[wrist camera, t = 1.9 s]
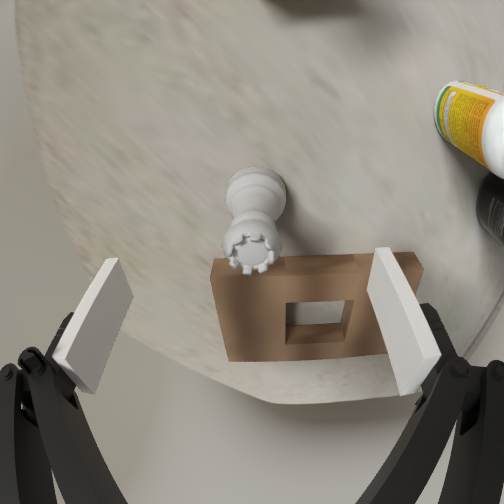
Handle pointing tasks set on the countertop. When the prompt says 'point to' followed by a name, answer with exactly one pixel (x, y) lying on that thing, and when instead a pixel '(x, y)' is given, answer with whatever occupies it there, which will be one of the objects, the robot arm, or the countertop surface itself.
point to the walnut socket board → (301, 290)
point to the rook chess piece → (253, 219)
